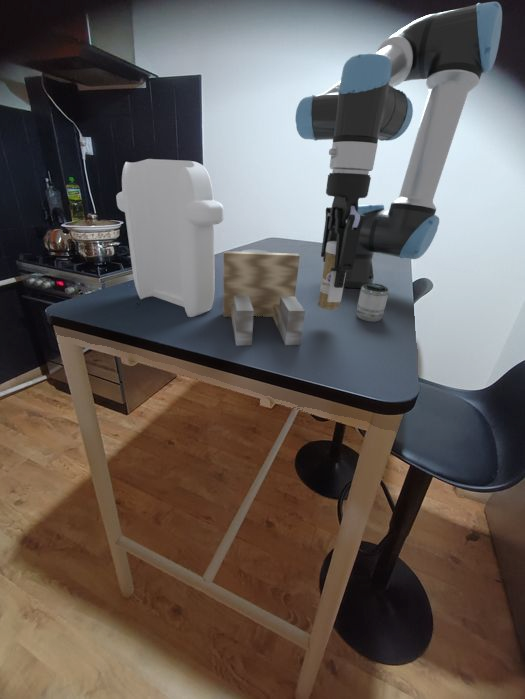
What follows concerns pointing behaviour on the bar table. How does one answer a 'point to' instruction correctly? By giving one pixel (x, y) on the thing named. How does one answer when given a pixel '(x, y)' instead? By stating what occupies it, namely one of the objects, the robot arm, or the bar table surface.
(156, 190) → the white contoured slab
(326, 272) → the sprinkles bottle
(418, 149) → the robot arm
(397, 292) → the bar table surface
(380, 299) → the camera lens
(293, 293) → the headboard stand
